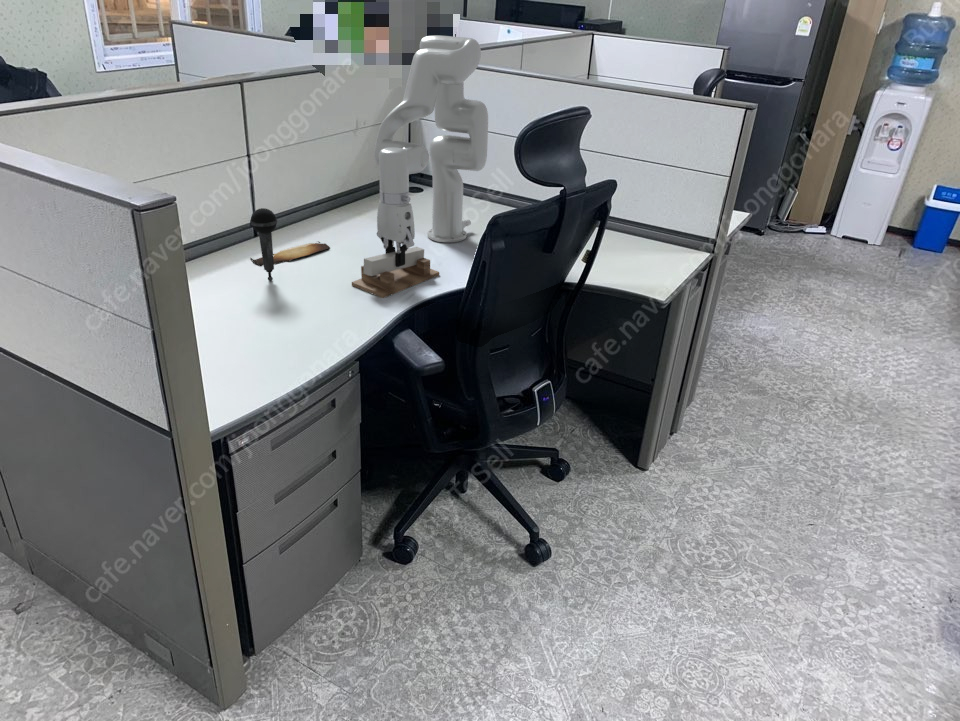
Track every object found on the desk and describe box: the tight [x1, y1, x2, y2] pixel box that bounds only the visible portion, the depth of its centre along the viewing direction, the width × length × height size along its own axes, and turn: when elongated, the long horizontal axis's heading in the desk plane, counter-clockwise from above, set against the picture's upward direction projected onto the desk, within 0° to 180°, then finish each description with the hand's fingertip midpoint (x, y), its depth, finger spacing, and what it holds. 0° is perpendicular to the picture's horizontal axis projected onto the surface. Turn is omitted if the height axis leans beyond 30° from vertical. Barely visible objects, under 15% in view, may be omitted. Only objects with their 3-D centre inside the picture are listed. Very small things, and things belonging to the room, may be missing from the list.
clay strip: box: [363, 246, 425, 276], centre depth 195 cm, size 20×3×4 cm, turn 141°
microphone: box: [249, 208, 278, 282], centre depth 190 cm, size 7×7×20 cm
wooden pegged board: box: [351, 257, 440, 299], centre depth 197 cm, size 22×12×5 cm, turn 141°
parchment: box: [250, 241, 331, 267], centre depth 213 cm, size 25×10×1 cm, turn 135°
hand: (395, 263), depth 196 cm, fingers closed on clay strip, 3 cm apart
